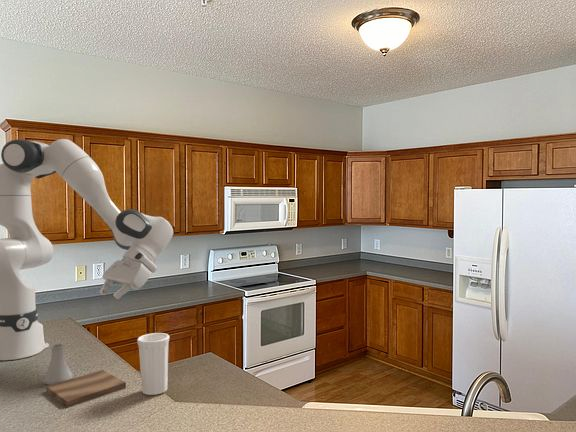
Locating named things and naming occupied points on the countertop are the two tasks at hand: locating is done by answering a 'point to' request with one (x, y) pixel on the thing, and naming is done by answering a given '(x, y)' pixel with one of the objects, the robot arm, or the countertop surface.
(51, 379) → the flask
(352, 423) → the countertop surface
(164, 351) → the cup
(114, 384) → the walnut board
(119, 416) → the countertop surface
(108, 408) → the countertop surface
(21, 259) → the robot arm
